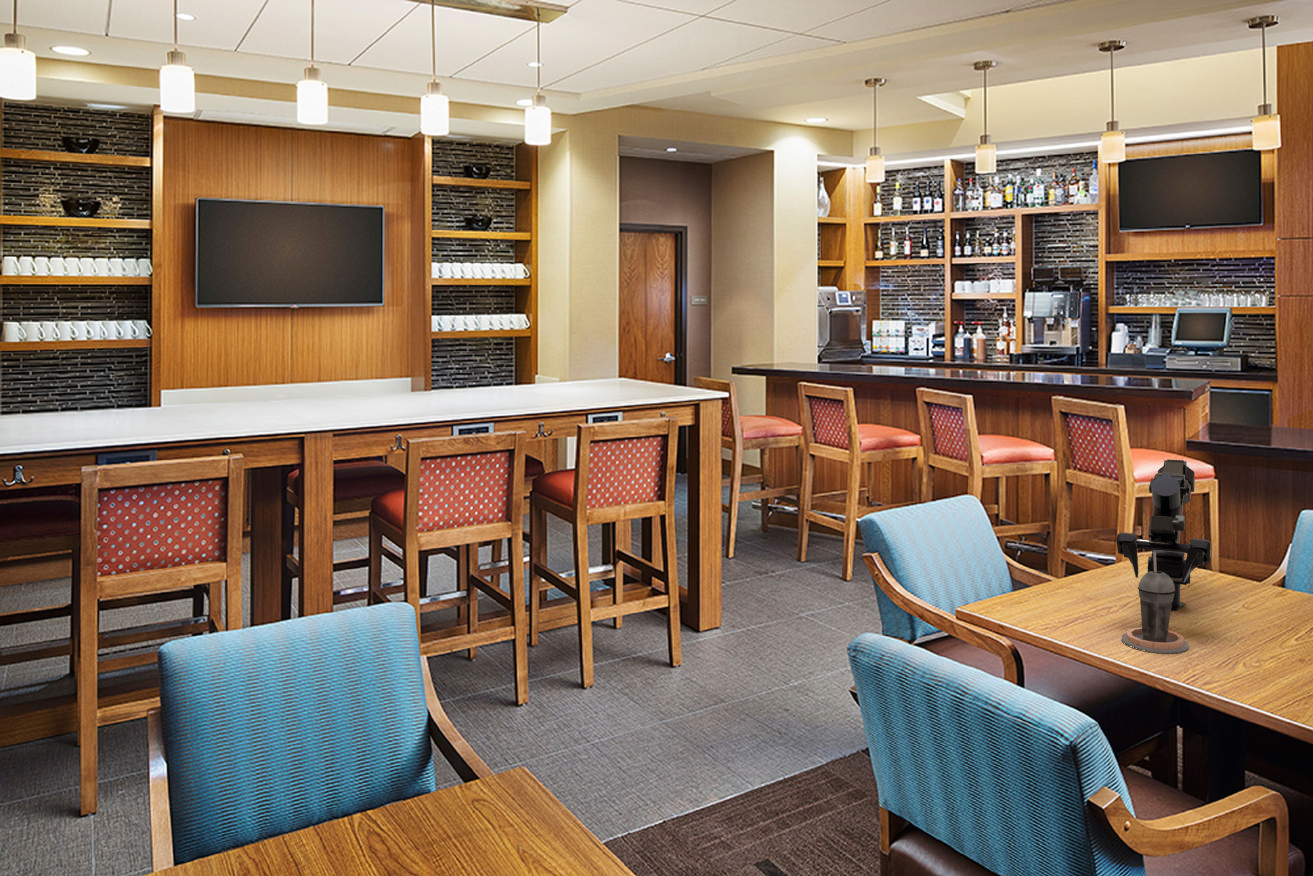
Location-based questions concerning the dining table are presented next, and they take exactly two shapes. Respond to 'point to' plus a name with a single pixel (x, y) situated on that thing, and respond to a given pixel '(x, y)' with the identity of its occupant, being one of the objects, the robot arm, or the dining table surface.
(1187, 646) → the cup holder
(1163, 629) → the beverage cup
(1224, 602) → the dining table surface
